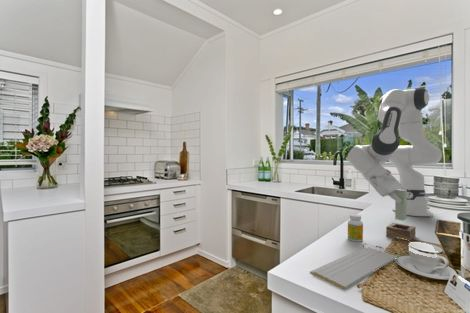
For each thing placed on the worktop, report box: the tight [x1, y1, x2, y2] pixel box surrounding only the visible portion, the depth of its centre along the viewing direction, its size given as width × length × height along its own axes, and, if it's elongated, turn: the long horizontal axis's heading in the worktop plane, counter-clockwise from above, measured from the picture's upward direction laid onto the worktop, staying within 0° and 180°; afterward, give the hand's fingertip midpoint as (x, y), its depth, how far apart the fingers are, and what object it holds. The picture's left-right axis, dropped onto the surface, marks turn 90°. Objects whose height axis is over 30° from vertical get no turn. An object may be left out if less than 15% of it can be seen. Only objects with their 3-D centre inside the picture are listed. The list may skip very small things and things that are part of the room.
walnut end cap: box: [385, 222, 416, 242], centre depth 99 cm, size 9×8×4 cm
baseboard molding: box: [309, 244, 398, 291], centre depth 74 cm, size 31×3×12 cm
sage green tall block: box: [394, 189, 408, 222], centre depth 99 cm, size 4×3×12 cm
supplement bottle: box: [347, 213, 364, 243], centre depth 95 cm, size 5×5×10 cm
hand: (403, 201), depth 98 cm, fingers closed on sage green tall block, 4 cm apart
